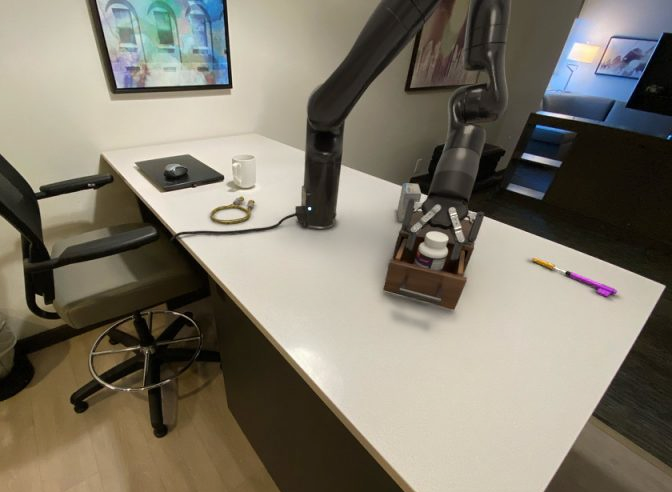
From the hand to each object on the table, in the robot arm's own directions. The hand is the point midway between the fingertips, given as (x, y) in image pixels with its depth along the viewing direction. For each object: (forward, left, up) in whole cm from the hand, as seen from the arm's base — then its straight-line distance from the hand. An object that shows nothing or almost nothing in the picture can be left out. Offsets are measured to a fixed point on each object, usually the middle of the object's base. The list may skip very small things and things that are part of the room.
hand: (429, 257), depth 63 cm
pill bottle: (+1, +1, -6) cm, 6 cm away
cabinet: (+7, +11, -8) cm, 15 cm away
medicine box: (+12, +34, -8) cm, 37 cm away
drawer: (-1, -1, -7) cm, 7 cm away
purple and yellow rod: (+34, -1, -8) cm, 35 cm away
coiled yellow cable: (-37, +43, -8) cm, 57 cm away
